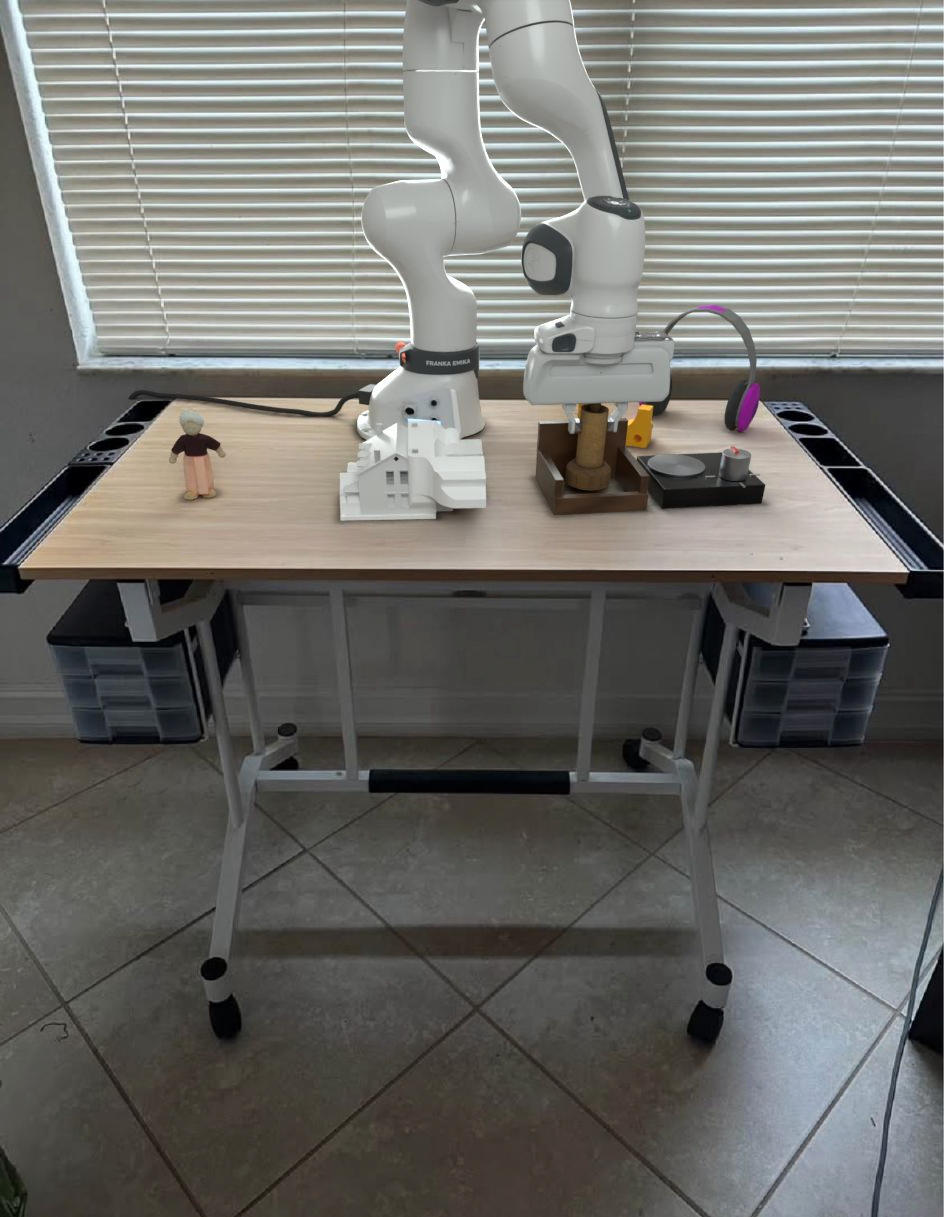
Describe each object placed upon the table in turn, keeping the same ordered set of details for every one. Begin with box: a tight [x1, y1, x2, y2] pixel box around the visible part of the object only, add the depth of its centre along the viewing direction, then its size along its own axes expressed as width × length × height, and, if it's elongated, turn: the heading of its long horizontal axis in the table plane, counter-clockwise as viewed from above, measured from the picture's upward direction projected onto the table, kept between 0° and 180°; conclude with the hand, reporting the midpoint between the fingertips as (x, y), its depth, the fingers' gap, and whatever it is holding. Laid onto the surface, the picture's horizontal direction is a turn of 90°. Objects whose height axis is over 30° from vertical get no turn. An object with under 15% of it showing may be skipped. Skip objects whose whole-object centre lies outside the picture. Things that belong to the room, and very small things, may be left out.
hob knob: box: [719, 445, 752, 481], centre depth 122 cm, size 4×4×4 cm
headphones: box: [638, 304, 761, 433], centre depth 147 cm, size 21×9×20 cm, turn 58°
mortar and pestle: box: [564, 372, 611, 491], centre depth 119 cm, size 7×6×18 cm
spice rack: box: [535, 417, 650, 516], centre depth 122 cm, size 13×13×9 cm
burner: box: [648, 453, 705, 478], centre depth 126 cm, size 8×8×1 cm
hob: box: [636, 451, 766, 510], centre depth 125 cm, size 16×14×3 cm
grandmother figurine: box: [168, 409, 227, 501], centre depth 120 cm, size 8×4×13 cm, turn 117°
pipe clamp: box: [577, 404, 654, 449], centre depth 143 cm, size 12×4×6 cm, turn 68°
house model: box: [339, 420, 487, 522], centre depth 117 cm, size 19×20×10 cm
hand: (592, 431), depth 120 cm, fingers closed on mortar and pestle, 4 cm apart
